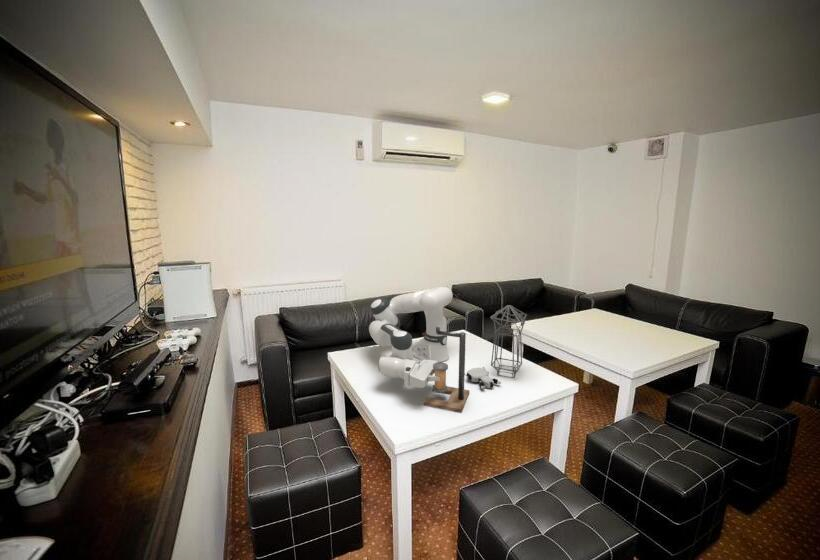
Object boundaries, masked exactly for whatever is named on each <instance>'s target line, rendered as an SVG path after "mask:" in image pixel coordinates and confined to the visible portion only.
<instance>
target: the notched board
mask: <svg viewBox="0 0 820 560" xmlns="http://www.w3.org/2000/svg"><path fill="white" fill-rule="evenodd" d="M446 386H447V387H448V390H447V392H445V393H444V394H447V395H450V396H449V398H448V399H447V400H441V399H437V398H432V397H428V396H426V398H425V399H424V400H423V405H424V406H425V407H432V408H435V409H441V410H446V411H451V412H456V413H460V414H462V413H463V410H464V408H465V405H466V403H467V401H468V398H469V396H470V390H469V389H465V388H464V399H463V400H459V399H458V387H453V386H448V385H446ZM431 389H432V392H434V391H433V387H432V388H431Z"/></svg>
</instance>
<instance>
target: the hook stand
mask: <svg viewBox="0 0 820 560" xmlns="http://www.w3.org/2000/svg"><path fill="white" fill-rule="evenodd" d="M436 334H438V335H445V336H447V337H454V338H459V345H458V346H459V347H458V349H459V351H458V353H459V355H458V357H459V358H458V383H457V385H458V387H457V388H458V399H459V400H463V399H464V389H465V377H466V375H465V374H466V367H465V366H466V336H467V334H466V332H459V333H458V332H451V331H446V332H444V331H440V327H436Z"/></svg>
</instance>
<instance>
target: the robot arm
mask: <svg viewBox="0 0 820 560" xmlns="http://www.w3.org/2000/svg"><path fill="white" fill-rule="evenodd" d="M453 297H454V295H453V292H452V290H451V288H449V287H447V286H437V287H433V288H428V289H423V290H420V291H415V292H409V293H404V294H399V295H397V296H396V295H395V296H394V297H393V298H391V300H390V299H389V298H377V299H375V300H373V301H372V303H371V304H369V305H370V306H369V311H370V313H371V314H372V315H373V317H374V319H375V320H374V321H371V322H370V324H369V326H368V331H369V334H370V336H371V338H372V339H373V341H374V343H376V345H378V346H379V347H381V348H382V347H383V348H384V347H389V346H391V354H390V355H389V356H380V357H379V360H378V365H377V367H378V372H379V373H380V375H383V376H385V377H386V376H387V377H390V378H394V379H396V378H397V379H398V378H400V379H402V380H404V381H403V382H404V384H403V385H404V386H405V387H409V386H410V387H413V388H419V389H423V388H425V387H426V386H427V384H428V383H430V382H435V381H440V379H441V377H440V376H435V370H434V369H433V364H434V363H437V362H446V361H448V360H449V357H450V356H449V351H448V344H447V342H448V336H445V335H438V334H436V327H440V331H444V332H447V325H448V324H447V317H445V315H444V312H443V310H444V309H443V308H444V307H446V306H448V305H449V304H450V303H451V301H452V300H453ZM417 312H424V315H425V322H426V324H425V326H426V330H425V331H424V332H422V336H423V337H422V338H421V339H419V340H418V341H416V342H415V345H414V347H413V336H412V334H411V333H410V332H409V331H406V330H402V329H401V328H400V326H401V321H400V319H399V317H398V316H397V315H398V314H410V313H417ZM413 357H414V358H417V359H418V360H420V361H418V360H414V358H413Z"/></svg>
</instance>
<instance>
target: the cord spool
mask: <svg viewBox="0 0 820 560" xmlns="http://www.w3.org/2000/svg"><path fill="white" fill-rule="evenodd" d="M433 369H434V370H435V373H434V376H440V377H441V379H440V381H434V384H433V385H432V388H433V391H432V392H434V393H436V394H446V393H445V392H447V390H448V387H447V386H448V385H447V384H446V383H447V370H448V369H449V365H448V363H445V362H444V361H442V362H437V363H434V364H433Z"/></svg>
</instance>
